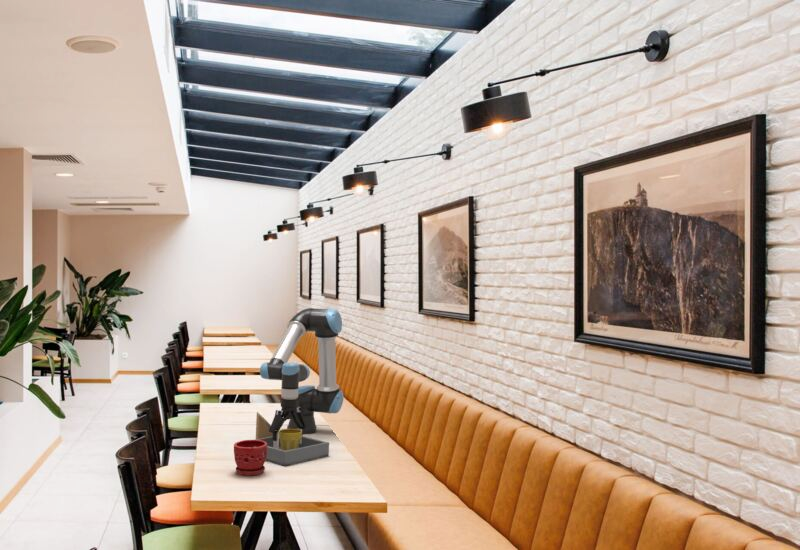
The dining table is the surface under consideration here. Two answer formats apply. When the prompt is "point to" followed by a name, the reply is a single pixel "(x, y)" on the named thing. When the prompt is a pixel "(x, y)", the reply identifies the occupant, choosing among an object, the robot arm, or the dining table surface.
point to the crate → (296, 451)
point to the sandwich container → (262, 427)
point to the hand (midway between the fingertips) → (287, 445)
